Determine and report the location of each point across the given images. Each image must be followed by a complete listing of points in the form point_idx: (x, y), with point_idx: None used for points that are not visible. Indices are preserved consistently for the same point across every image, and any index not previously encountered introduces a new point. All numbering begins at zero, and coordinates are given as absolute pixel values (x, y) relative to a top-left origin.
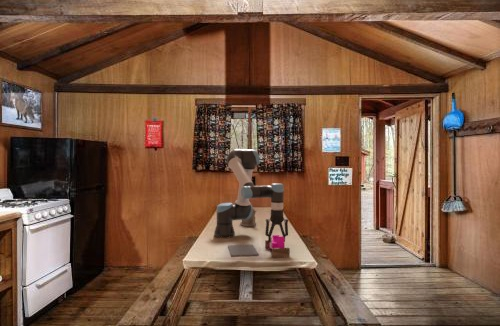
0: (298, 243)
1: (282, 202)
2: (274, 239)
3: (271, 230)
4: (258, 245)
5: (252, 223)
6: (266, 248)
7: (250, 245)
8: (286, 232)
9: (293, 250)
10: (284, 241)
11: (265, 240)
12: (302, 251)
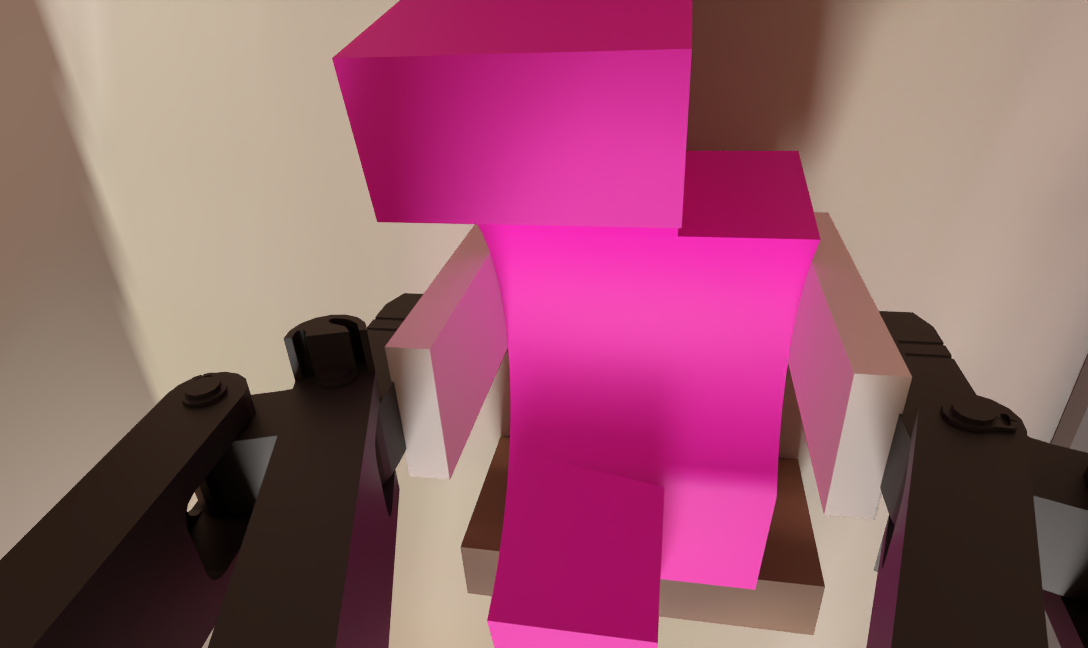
0: None
1: None
2: (644, 521)
3: (1003, 643)
4: (854, 635)
5: None
6: (786, 461)
7: (1050, 633)
8: (180, 454)
9: (302, 283)
10: (408, 296)
11: (817, 615)
12: (142, 199)
